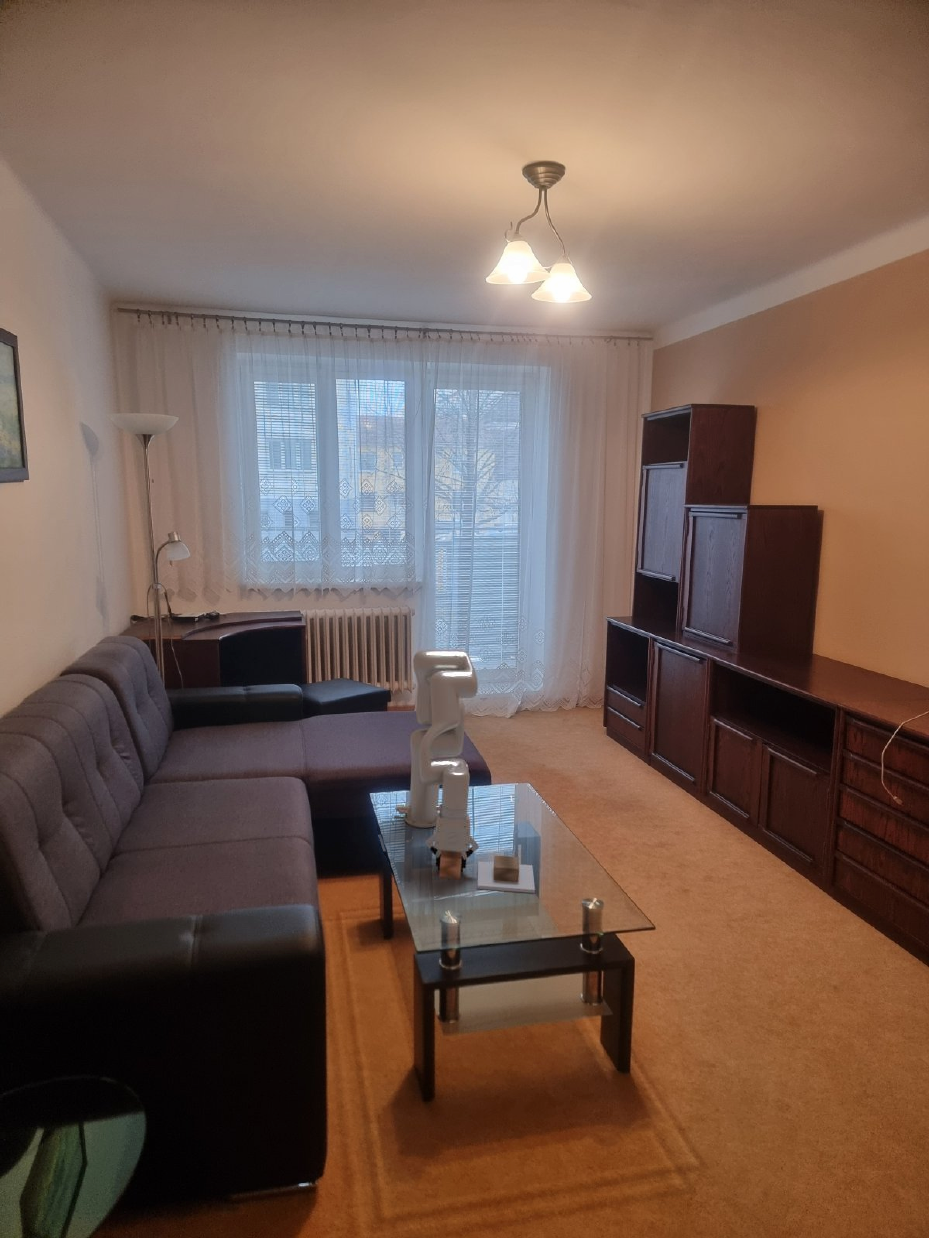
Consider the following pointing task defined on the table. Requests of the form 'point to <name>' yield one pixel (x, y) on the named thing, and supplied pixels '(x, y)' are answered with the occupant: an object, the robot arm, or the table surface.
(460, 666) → the robot arm
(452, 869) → the terracotta cube
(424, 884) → the table surface
